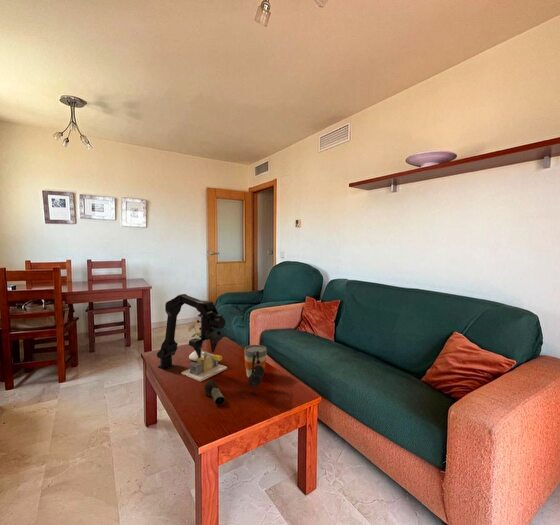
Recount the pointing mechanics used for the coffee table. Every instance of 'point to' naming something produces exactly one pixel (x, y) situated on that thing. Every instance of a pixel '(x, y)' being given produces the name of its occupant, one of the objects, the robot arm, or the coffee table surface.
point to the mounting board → (205, 373)
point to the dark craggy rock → (214, 392)
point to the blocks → (202, 365)
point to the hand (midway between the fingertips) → (206, 355)
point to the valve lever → (215, 357)
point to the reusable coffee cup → (249, 356)
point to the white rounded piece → (193, 355)
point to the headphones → (255, 372)
